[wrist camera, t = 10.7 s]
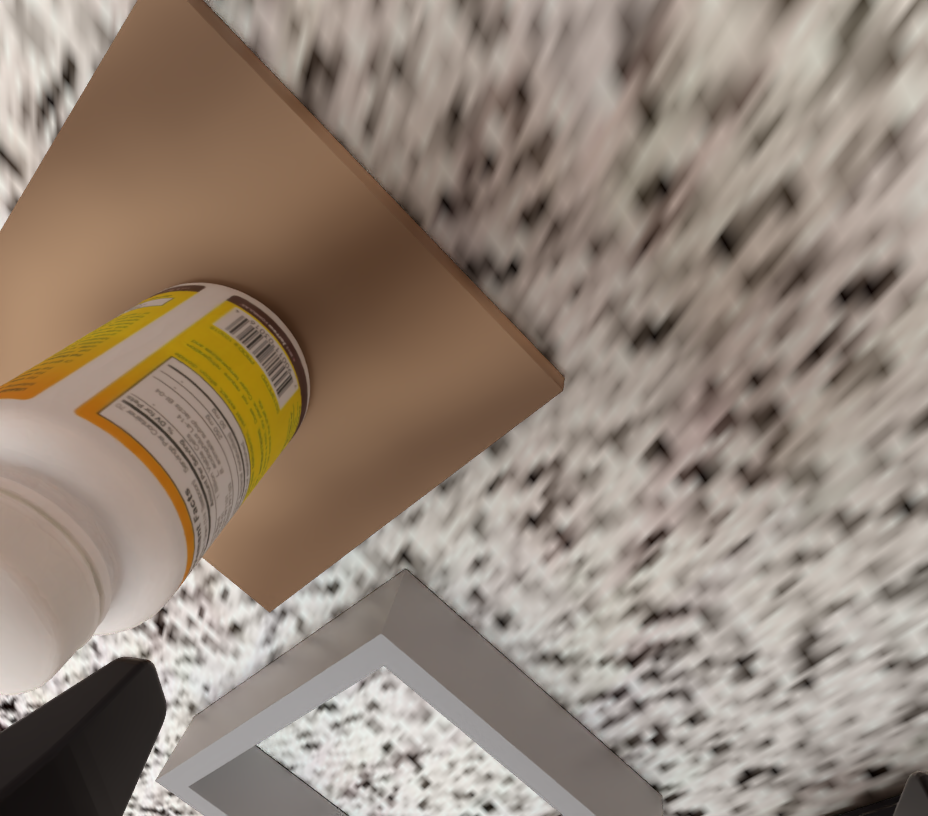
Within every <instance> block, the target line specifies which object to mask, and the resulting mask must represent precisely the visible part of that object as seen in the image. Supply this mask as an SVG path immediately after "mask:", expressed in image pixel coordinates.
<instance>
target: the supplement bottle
mask: <svg viewBox="0 0 928 816" xmlns="http://www.w3.org/2000/svg"><path fill="white" fill-rule="evenodd" d="M309 397H310V379H309V373H308V368H307V364H306V361H305V358H304V355H303V353H302V351H301V349H300V347H299V345H298V343H297V341H296V339H295V338H294V336H293V335H292V333H291V332H290V330H289V329H288V328H287V327H286V325H285V324H284V323H283V322H282V321H281V320H280V319H279V318H278V316H276V315H275V314H274V313H273V312H272V311H271V310H270V309H268V308H267V307H266V306H265V305H263V304H262V303H260V302H259V301H257V300H256V299H254V298H252V297H250V296H249V295H247V294H245V293H243V292H240V291H238V290H235V289H232V288H229V287H226V286H223V285H218V284H212V283H186V284H180V285H176V286H173V287H170V288H167V289H165V290H163V291H160V292H158V293H157V294H155V295H153V296H151V297H149V298H148V299H146V300H144V301H142V302H141V303H139V304H138V305H136V306H134V307H132V308H131V309H129V310H127V311H126V312H124V313H123V314H121V315H119V316H118V317H116V318H114V319H113V320H111V321H109V322H108V323H106V324H104V325H102V326H101V327H99V328H98V329H96V330H94V331H92V332H91V333H89V334H87V335H86V336H84V337H82V338H81V339H79V340H77V341H76V342H74V343H72V344H70V345H69V346H67V347H66V348H64V349H62V350H61V351H59V352H57V353H56V354H54V355H52V356H51V357H49V358H47V359H46V360H44V361H42V362H41V363H39V364H37V365H36V366H34V367H32V368H31V369H29V370H27V371H25V372H23V373H22V374H20V375H19V376H17V377H15V378H14V379H12V380H10V381H9V382H7V383H5V384H3V385H2V386H0V695H16V694H22V693H26V692H30V691H33V690H34V689H37V688H39V687H41V686H42V685H44V684H45V683H47V682H48V681H49V680H50V679H51V678H52V677H53V676H54V675H55V674H56V673H57V672H58V671H59V670H60V669H61V668H62V667H63V665H64V664H65V663H66V662H67V661H68V660H69V659H70V658H71V657H72V655H73V654H74V653H75V652H76V651H77V650H78V649H80V648H81V647H83V646H84V645H85V644H86V643H87V642H88V641H89V640H90V639H91V637H92V636H101V635H108V634H114V633H118V632H122V631H125V630H128V629H131V628H134V627H136V626H138V625H140V624H141V623H143V622H145V621H147V620H148V619H150V618H151V617H153V616H154V615H155V614H156V613H158V612H159V611H160V610H161V609H162V608H163V607H164V606H165V604H166V603H167V602H168V601H169V600H170V598H171V597H172V596H173V595H174V594H175V592H176V591H177V590H178V588H179V587H180V586H181V584H182V583H183V582H184V581H185V579H186V578H187V576H188V575H189V574H190V572H191V571H192V569H193V568H194V567H195V566H196V565H197V563H198V562H199V560H200V559H201V558H202V556H203V555H204V554H205V552H206V551H207V550H208V548H209V547H210V546H211V544H212V543H213V542H214V540H215V539H216V538H217V537H218V535H219V534H220V533H221V531H222V530H223V528H224V527H225V526H226V525H227V523H228V522H229V521H230V519H231V518H232V517H233V515H234V514H235V513H236V512H237V510H238V509H239V507H240V506H241V505H242V504H243V502H244V501H245V500H246V498H247V497H248V496H249V494H250V493H251V492H252V490H253V489H254V488H255V487H256V485H257V484H258V482H259V481H260V480H261V478H262V477H263V476H264V474H265V473H266V472H267V470H268V469H269V468H270V467H271V465H272V464H273V463H274V461H275V460H276V459H277V457H278V456H279V455H280V453H281V452H282V451H283V450H284V448H285V447H286V446H287V444H288V443H289V442H290V441H291V439H292V438H293V436H294V435H295V434H296V432H297V431H298V429H299V427H300V425H301V424H302V422H303V420H304V417H305V415H306V412H307V408H308V404H309Z"/></svg>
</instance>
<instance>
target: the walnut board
mask: <svg viewBox="0 0 928 816" xmlns="http://www.w3.org/2000/svg"><path fill="white" fill-rule="evenodd" d="M186 283H212V284H218V285H223V286H226V287H229V288H232V289H235V290H238V291H240V292H243V293H245V294H247V295H249V296H250V297H252V298H254V299H256V300H257V301H259V302H260V303H262V304H263V305H265V306H266V307H267V308H268V309H270V310H271V311H272V312H273V313H274V314H275V315H276V316H278V318H279V319H280V320H281V321H282V322H283V323H284V324H285V325H286V327H287V328H288V329H289V330H290V332H291V333H292V335H293V336H294V338H295V339H296V341H297V343H298V345H299V347H300V349H301V351H302V353H303V355H304V358H305V361H306V364H307V368H308V373H309V379H310V397H309V404H308V408H307V412H306V415H305V417H304V420H303V422H302V424H301V425H300V427H299V429H298V431H297V432H296V434H295V435H294V436H293V438H292V439H291V441H290V442H289V443H288V444H287V446H286V447H285V448H284V450H283V451H282V452H281V453H280V455H279V456H278V457H277V459H276V460H275V461H274V463H273V464H272V465H271V467H270V468H269V469H268V470H267V472H266V473H265V474H264V476H263V477H262V478H261V480H260V481H259V482H258V484H257V485H256V487H255V488H254V489H253V490H252V492H251V493H250V494H249V496H248V497H247V498H246V500H245V501H244V502H243V504H242V505H241V506H240V507H239V509H238V510H237V512H236V513H235V514H234V515H233V517H232V518H231V519H230V521H229V522H228V523H227V525H226V526H225V527H224V528H223V530H222V531H221V533H220V534H219V535H218V537H217V538H216V539H215V540H214V542H213V543H212V544H211V546H210V547H209V548H208V550H207V551H206V552H205V554H204V555H203V556H202V557H203V558H204V559H205V560H206V561H207V562H209V563H210V564H211V565H212V566H214V567H215V568H216V569H217V570H218V571H220V572H221V573H222V574H223V575H225V576H226V577H227V578H228V579H229V580H231V581H232V582H233V583H234V584H236V585H237V586H238V587H239V588H240V589H242V590H243V591H244V592H245V593H247V594H248V595H249V596H250V597H251V598H253V599H254V600H255V601H256V602H258V603H259V604H260V605H261V606H262V607H264V608H265V609H266V610H267V611H269V612H271V611H272V610H273V609H275V608H276V607H277V606H279V605H280V604H281V603H283V602H284V601H285V600H287V599H288V598H289V597H291V596H292V595H293V594H295V593H296V592H297V591H299V590H300V589H301V588H303V587H304V586H305V585H307V584H308V583H309V582H311V581H312V580H313V579H314V578H316V577H317V576H318V575H320V574H321V573H322V572H324V571H325V570H326V569H328V568H329V567H330V566H332V565H333V564H334V563H336V562H337V561H338V560H340V559H341V558H342V557H344V556H345V555H346V554H348V553H349V552H350V551H351V550H353V549H354V548H355V547H357V546H358V545H359V544H361V543H362V542H363V541H365V540H366V539H367V538H369V537H370V536H371V535H373V534H374V533H375V532H377V531H378V530H379V529H381V528H382V527H383V526H385V525H386V524H387V523H389V522H390V521H391V520H392V519H394V518H395V517H396V516H398V515H399V514H400V513H402V512H403V511H404V510H406V509H407V508H408V507H410V506H411V505H412V504H414V503H415V502H416V501H418V500H419V499H420V498H422V497H423V496H424V495H426V494H427V493H428V492H430V491H431V490H432V489H433V488H435V487H436V486H437V485H439V484H440V483H441V482H443V481H444V480H445V479H447V478H448V477H449V476H451V475H452V474H453V473H455V472H456V471H457V470H459V469H460V468H461V467H463V466H464V465H465V464H467V463H468V462H469V461H471V460H472V459H473V458H474V457H476V456H477V455H478V454H480V453H481V452H482V451H484V450H485V449H486V448H488V447H489V446H490V445H492V444H493V443H494V442H496V441H497V440H498V439H500V438H501V437H502V436H504V435H505V434H506V433H508V432H509V431H510V430H512V429H513V428H514V427H515V426H517V425H518V424H519V423H521V422H522V421H523V420H525V419H526V418H527V417H529V416H530V415H531V414H533V413H534V412H535V411H537V410H538V409H539V408H541V407H542V406H543V405H545V404H546V403H547V402H549V401H550V400H551V399H552V398H554V397H555V396H556V395H558V394H559V393H560V392H562V391H563V388H564V380H565V378H564V377H563V375H562V374H561V373H560V372H559V371H558V370H557V369H556V368H555V367H554V366H553V365H552V364H551V363H550V362H549V361H548V360H547V359H546V358H545V357H544V356H543V355H542V354H541V353H540V351H539V350H538V349H537V348H536V347H535V346H534V345H533V344H532V343H531V342H530V341H529V340H528V339H527V338H526V337H525V336H524V335H523V334H522V333H521V332H520V331H519V330H518V329H517V327H516V326H515V325H514V324H513V323H512V322H511V321H510V320H509V319H508V318H507V317H506V316H505V315H504V314H503V313H502V312H501V311H500V310H499V309H498V308H497V307H496V306H495V305H494V304H493V302H492V301H491V300H490V299H489V298H488V297H487V296H486V295H485V294H484V293H483V292H482V291H481V290H480V289H479V288H478V287H477V286H476V285H475V284H474V283H473V282H472V281H471V280H470V278H469V277H468V276H467V275H466V274H465V273H464V272H463V271H462V270H461V269H460V268H459V267H458V266H457V265H456V264H455V263H454V262H453V261H452V260H451V259H450V258H449V257H448V256H447V255H446V253H445V252H444V251H443V250H442V249H441V248H440V247H439V246H438V245H437V244H436V243H435V242H434V241H433V240H432V239H431V238H430V237H429V236H428V235H427V234H426V233H425V232H424V231H423V229H422V228H421V227H420V226H419V225H418V224H417V223H416V222H415V221H414V220H413V219H412V218H411V217H410V216H409V215H408V214H407V213H406V212H405V211H404V210H403V209H402V208H401V207H400V206H399V204H398V203H397V202H396V201H395V200H394V199H393V198H392V197H391V196H390V195H389V194H388V193H387V192H386V191H385V190H384V189H383V188H382V187H381V186H380V185H379V184H378V183H377V182H376V180H375V179H374V178H373V177H372V176H371V175H370V174H369V173H368V172H367V171H366V170H365V169H364V168H363V167H362V166H361V165H360V164H359V163H358V162H357V161H356V160H355V159H354V158H353V156H352V155H351V154H350V153H349V152H348V151H347V150H346V149H345V148H344V147H343V146H342V145H341V144H340V143H339V142H338V141H337V140H336V139H335V138H334V137H333V136H332V135H331V134H330V133H329V131H328V130H327V129H326V128H325V127H324V126H323V125H322V124H321V123H320V122H319V121H318V120H317V119H316V118H315V117H314V116H313V115H312V114H311V113H310V112H309V111H308V110H307V109H306V107H305V106H304V105H303V104H302V103H301V102H300V101H299V100H298V99H297V98H296V97H295V96H294V95H293V94H292V93H291V92H290V91H289V90H288V89H287V88H286V87H285V86H284V85H283V84H282V82H281V81H280V80H279V79H278V78H277V77H276V76H275V75H274V74H273V73H272V72H271V71H270V70H269V69H268V68H267V67H266V66H265V65H264V64H263V63H262V62H261V61H260V60H259V58H258V57H257V56H256V55H255V54H254V53H253V52H252V51H251V50H250V49H249V48H248V47H247V46H246V45H245V44H244V43H243V42H242V41H241V40H240V39H239V38H238V37H237V36H236V35H235V33H234V32H233V31H232V30H231V29H230V28H229V27H228V26H227V25H226V24H225V23H224V22H223V21H222V20H221V19H220V18H219V17H218V16H217V15H216V14H215V13H214V12H213V11H212V9H211V8H210V7H209V6H208V5H207V4H206V3H205V2H204V1H203V0H137V2H136V4H135V6H134V7H133V9H132V11H131V12H130V14H129V16H128V17H127V19H126V21H125V22H124V24H123V26H122V27H121V29H120V31H119V32H118V34H117V36H116V37H115V39H114V41H113V43H112V44H111V46H110V48H109V49H108V51H107V53H106V54H105V56H104V58H103V59H102V61H101V63H100V64H99V66H98V68H97V69H96V71H95V73H94V74H93V76H92V78H91V80H90V81H89V83H88V85H87V86H86V88H85V90H84V91H83V93H82V95H81V96H80V98H79V100H78V101H77V103H76V105H75V106H74V108H73V110H72V111H71V113H70V115H69V117H68V118H67V120H66V122H65V123H64V125H63V127H62V128H61V130H60V132H59V133H58V135H57V137H56V138H55V140H54V142H53V143H52V145H51V147H50V148H49V150H48V152H47V154H46V155H45V157H44V159H43V160H42V162H41V164H40V165H39V167H38V169H37V170H36V172H35V174H34V175H33V177H32V179H31V180H30V182H29V184H28V186H27V187H26V189H25V191H24V192H23V194H22V196H21V197H20V199H19V201H18V202H17V204H16V206H15V207H14V209H13V211H12V212H11V214H10V216H9V217H8V219H7V221H6V223H5V224H4V226H3V228H2V229H1V231H0V386H2V385H3V384H5V383H7V382H9V381H10V380H12V379H14V378H15V377H17V376H19V375H20V374H22V373H23V372H25V371H27V370H29V369H31V368H32V367H34V366H36V365H37V364H39V363H41V362H42V361H44V360H46V359H47V358H49V357H51V356H52V355H54V354H56V353H57V352H59V351H61V350H62V349H64V348H66V347H67V346H69V345H70V344H72V343H74V342H76V341H77V340H79V339H81V338H82V337H84V336H86V335H87V334H89V333H91V332H92V331H94V330H96V329H98V328H99V327H101V326H102V325H104V324H106V323H108V322H109V321H111V320H113V319H114V318H116V317H118V316H119V315H121V314H123V313H124V312H126V311H127V310H129V309H131V308H132V307H134V306H136V305H138V304H139V303H141V302H142V301H144V300H146V299H148V298H149V297H151V296H153V295H155V294H157V293H158V292H160V291H163V290H165V289H167V288H170V287H173V286H176V285H180V284H186Z"/></svg>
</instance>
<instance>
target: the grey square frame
mask: <svg viewBox="0 0 928 816" xmlns="http://www.w3.org/2000/svg"><path fill="white" fill-rule="evenodd" d="M383 666H385V667H386V668H387V669H388V670H389V671H391V672H392V673H393V674H394V675H395V676H397V677H398V678H399V679H400V680H401V681H403V682H404V683H405V684H406V685H407V686H409V687H410V688H411V689H412V690H413V691H415V692H416V693H417V694H418V695H419V696H420V697H422V698H423V699H424V700H425V701H426V702H428V703H429V704H430V705H431V706H432V707H434V708H435V709H436V710H437V711H438V712H440V713H441V714H442V715H443V716H444V717H446V718H447V719H448V720H449V721H450V722H452V723H453V724H454V725H455V726H456V727H458V728H459V729H460V730H461V731H462V732H464V733H465V734H466V735H467V736H468V737H470V738H471V739H472V740H473V741H474V742H476V743H477V744H478V745H479V746H480V747H482V748H483V749H484V750H485V751H486V752H488V753H489V754H490V755H491V756H492V757H494V758H495V759H496V760H497V761H498V762H500V763H501V764H502V765H503V766H504V767H506V768H507V769H508V770H509V771H510V772H512V773H513V774H514V775H515V776H516V777H518V778H519V779H520V780H521V781H522V782H524V783H525V784H526V785H527V786H528V787H530V788H531V789H532V790H533V791H534V792H536V793H537V794H538V795H539V796H540V797H542V798H543V799H544V800H545V801H546V802H548V803H549V804H550V805H551V806H552V807H554V808H555V809H556V810H557V811H558V812H560V813H561V814H562V815H561V816H663V803H662V795H660V794H659V793H658V792H657V791H656V790H655V789H654V788H653V787H651V786H650V785H649V784H648V783H647V782H646V781H645V780H643V779H642V778H641V777H640V776H639V775H638V774H637V773H636V772H634V771H633V770H632V769H631V768H630V767H629V766H628V765H627V764H625V763H624V762H623V761H622V760H621V759H620V758H619V757H617V756H616V755H615V754H614V753H613V752H612V751H611V750H610V749H608V748H607V747H606V746H605V745H604V744H603V743H602V742H601V741H599V740H598V739H597V738H596V737H595V736H594V735H593V734H592V733H590V732H589V731H588V730H587V729H586V728H585V727H584V726H582V725H581V724H580V723H579V722H578V721H577V720H576V719H575V718H573V717H572V716H571V715H570V714H569V713H568V712H567V711H566V710H564V709H563V708H562V707H561V706H560V705H559V704H558V703H556V702H555V701H554V700H553V699H552V698H551V697H550V696H549V695H547V694H546V693H545V692H544V691H543V690H542V689H541V688H540V687H538V686H537V685H536V684H535V683H534V682H533V681H532V680H531V679H529V678H528V677H527V676H526V675H525V674H524V673H523V672H521V671H520V670H519V669H518V668H517V667H516V666H515V665H514V664H512V663H511V662H510V661H509V660H508V659H507V658H506V657H505V656H503V655H502V654H501V653H500V652H499V651H498V650H497V649H495V648H494V647H493V646H492V645H491V644H490V643H489V642H488V641H486V640H485V639H484V638H483V637H482V636H481V635H480V634H479V633H477V632H476V631H475V630H474V629H473V628H472V627H471V626H470V625H468V624H467V623H466V622H465V621H464V620H463V619H462V618H460V617H459V616H458V615H457V614H456V613H455V612H454V611H453V610H451V609H450V608H449V607H448V606H447V605H446V604H445V603H444V602H442V601H441V600H440V599H439V598H438V597H437V596H436V595H434V594H433V593H432V592H431V591H430V590H429V589H428V588H427V587H425V586H424V585H423V584H422V583H421V582H420V581H419V580H418V579H416V578H415V577H414V576H413V575H412V574H411V573H410V572H408V571H407V570H406V569H405V570H404V571H402V572H401V573H399V574H398V575H397V576H395V577H394V578H392V579H391V580H389V581H388V582H387V583H385V584H384V585H382V586H381V587H379V588H378V589H377V590H375V591H374V592H372V593H371V594H369V595H368V596H366V597H365V598H364V599H362V600H361V601H359V602H358V603H356V604H355V605H354V606H352V607H351V608H349V609H348V610H346V611H345V612H344V613H342V614H341V615H339V616H338V617H336V618H335V619H334V620H332V621H331V622H329V623H328V624H326V625H325V626H324V627H322V628H321V629H319V630H318V631H316V632H315V633H314V634H312V635H311V636H309V637H308V638H306V639H305V640H304V641H302V642H301V643H299V644H298V645H296V646H295V647H294V648H292V649H291V650H289V651H288V652H286V653H285V654H283V655H282V656H281V657H279V658H278V659H276V660H275V661H273V662H272V663H271V664H269V665H268V666H266V667H265V668H263V669H262V670H261V671H259V672H258V673H256V674H255V675H253V676H252V677H251V678H249V679H248V680H246V681H245V682H243V683H242V684H241V685H239V686H238V687H236V688H235V689H233V690H232V691H231V692H229V693H228V694H226V695H225V696H223V697H222V698H221V699H219V700H218V701H216V702H215V703H213V704H212V705H211V706H209V707H208V708H206V709H205V710H203V711H202V712H200V713H199V714H198V715H196V716H195V717H194V718H193V719H192V721H191V723H190V724H189V726H188V728H187V729H186V731H185V733H184V734H183V736H182V738H181V739H180V741H179V742H178V744H177V746H176V747H175V749H174V751H173V752H172V754H171V756H170V757H169V759H168V761H167V762H166V764H165V766H164V767H163V769H162V771H161V772H160V774H159V776H158V777H157V779H156V780H155V781H156V782H158V783H159V784H160V785H162V786H163V787H165V788H166V789H167V790H169V791H170V792H172V793H173V794H174V795H176V796H177V797H179V798H180V799H181V800H183V801H184V802H186V803H187V804H188V805H190V806H191V807H193V808H194V809H195V810H197V811H198V812H200V813H201V814H202V815H204V816H347V815H346V814H345V813H343V812H342V811H341V810H339V809H338V808H337V807H335V806H334V805H333V804H331V803H330V802H329V801H328V800H326V799H325V798H324V797H322V796H321V795H320V794H318V793H317V792H316V791H314V790H313V789H312V788H310V787H309V786H308V785H306V784H305V783H304V782H302V781H301V780H300V779H298V778H297V777H296V776H294V775H293V774H292V773H291V772H289V771H288V770H287V769H285V768H284V767H283V766H281V765H280V764H279V763H277V762H276V761H275V760H273V759H272V758H271V757H269V756H268V755H267V754H265V753H264V752H263V751H261V750H260V749H259V748H258V747H256V746H255V745H257V744H258V743H260V742H261V741H263V740H265V739H266V738H268V737H270V736H271V735H273V734H274V733H276V732H278V731H279V730H281V729H282V728H284V727H286V726H287V725H289V724H291V723H292V722H294V721H295V720H297V719H299V718H300V717H302V716H303V715H305V714H307V713H308V712H310V711H312V710H313V709H315V708H316V707H318V706H320V705H321V704H323V703H324V702H326V701H328V700H329V699H331V698H333V697H334V696H336V695H337V694H339V693H341V692H342V691H344V690H345V689H347V688H349V687H350V686H352V685H354V684H355V683H357V682H358V681H360V680H362V679H363V678H365V677H367V676H368V675H370V674H371V673H373V672H375V671H376V670H378V669H379V668H381V667H383Z"/></svg>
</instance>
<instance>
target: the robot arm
mask: <svg viewBox="0 0 928 816" xmlns="http://www.w3.org/2000/svg"><path fill="white" fill-rule="evenodd" d="M165 716H166V700H165V696H164V693H163V690H162V687H161V684H160V681H159V677H158V674H157V671H156V668H155V666H154V664H153V663H152V662H151V661H150V660H146V659H140V658H133V657H120V658H118V659H115V660H114V661H112V662H110V663H109V664H107V665H105V666H104V667H102V668H101V669H99V670H98V671H96V672H94V673H93V674H91V675H90V676H88V677H87V678H85V679H83V680H82V681H80V682H79V683H77V684H76V685H74V686H72V687H71V688H69V689H68V690H66V691H65V692H63V693H61V694H60V695H58V696H57V697H55V698H54V699H52V700H50V701H49V702H47V703H46V704H44V705H43V706H41V707H39V708H38V709H36V710H35V711H33V712H31V713H30V714H28V715H27V716H25V717H24V718H22V719H20V720H19V721H17V722H16V723H14V724H13V725H11V726H9V727H8V728H6V729H5V730H3V731H2V732H0V816H123V813H124V811H125V809H126V807H127V804H128V802H129V800H130V798H131V795H132V793H133V791H134V789H135V786H136V784H137V782H138V779H139V777H140V775H141V773H142V770H143V768H144V766H145V764H146V761H147V759H148V757H149V754H150V752H151V750H152V748H153V745H154V743H155V741H156V739H157V736H158V734H159V732H160V730H161V727H162V725H163V722H164V719H165ZM838 816H928V772H924V771H915V772H913V773H912V774H910V776H909V778H908V780H907V782H906V785H905V787H904V790H903V792H902V795H899V796H896V797H893V798H890V799H887V800H884V801H881V802H878V803H875V804H872V805H869V806H866V807H863V808H859V809H856V810H853V811H850V812H847V813H844V814H841V815H838Z"/></svg>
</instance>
